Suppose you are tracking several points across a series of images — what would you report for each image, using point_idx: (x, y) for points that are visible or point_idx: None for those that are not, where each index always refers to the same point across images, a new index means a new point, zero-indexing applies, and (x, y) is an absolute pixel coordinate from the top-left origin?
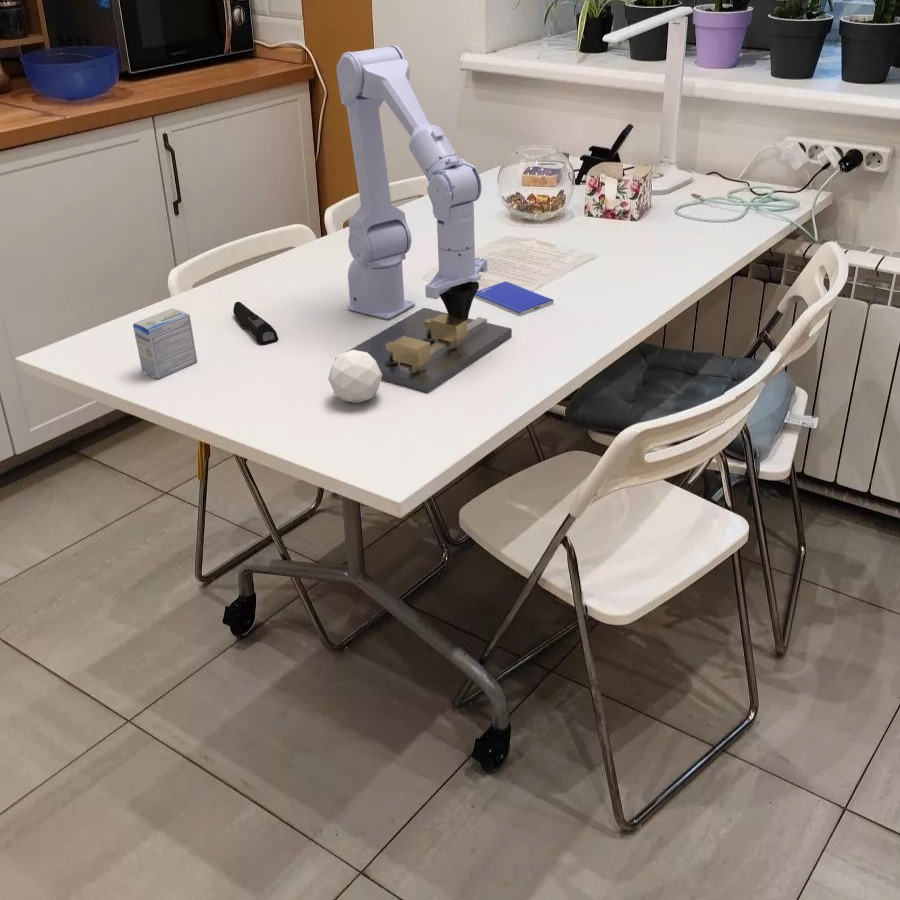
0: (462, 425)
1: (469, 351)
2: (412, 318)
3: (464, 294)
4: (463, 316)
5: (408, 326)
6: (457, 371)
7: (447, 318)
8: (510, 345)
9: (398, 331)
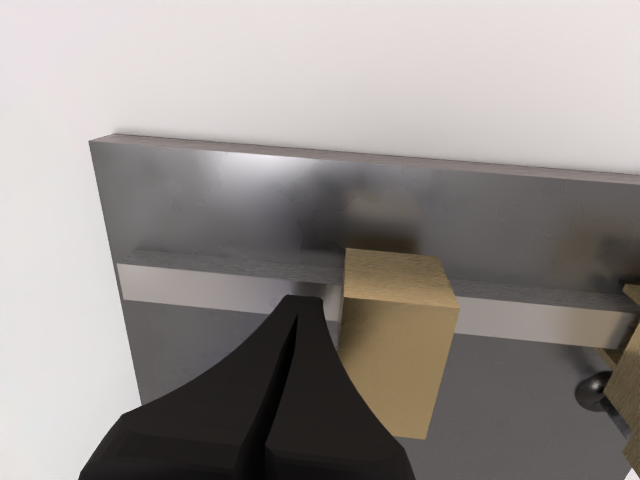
0: None
1: (399, 194)
2: None
3: (392, 465)
4: (320, 329)
5: None
6: (537, 168)
7: (373, 385)
8: (183, 95)
9: None
